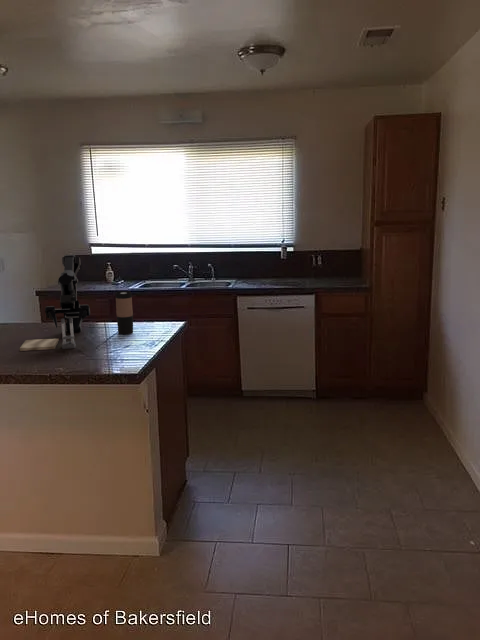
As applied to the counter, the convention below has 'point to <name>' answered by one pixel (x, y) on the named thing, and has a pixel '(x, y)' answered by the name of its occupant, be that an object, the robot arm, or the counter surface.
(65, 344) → the two-prong grey stand
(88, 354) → the counter surface
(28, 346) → the plate
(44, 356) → the counter surface
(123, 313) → the travel mug
